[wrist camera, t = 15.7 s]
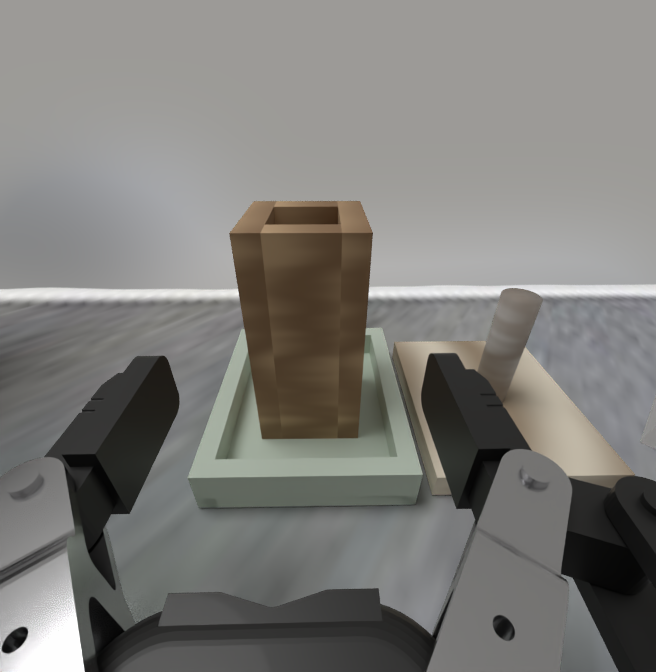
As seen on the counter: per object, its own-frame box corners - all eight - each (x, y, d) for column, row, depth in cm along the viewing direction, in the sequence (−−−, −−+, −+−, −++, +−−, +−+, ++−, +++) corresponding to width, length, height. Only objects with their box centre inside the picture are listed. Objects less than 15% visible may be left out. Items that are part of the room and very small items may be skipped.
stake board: (432, 495, 18) (469, 367, 13) (392, 357, 28) (405, 256, 23) (621, 492, 18) (723, 364, 13) (514, 356, 28) (551, 256, 23)
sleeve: (261, 439, 20) (229, 233, 13) (273, 376, 25) (253, 201, 18) (357, 438, 20) (372, 232, 13) (351, 376, 25) (359, 201, 18)
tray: (198, 507, 17) (187, 478, 16) (245, 354, 28) (241, 329, 27) (415, 504, 17) (422, 474, 16) (379, 353, 28) (381, 327, 27)
